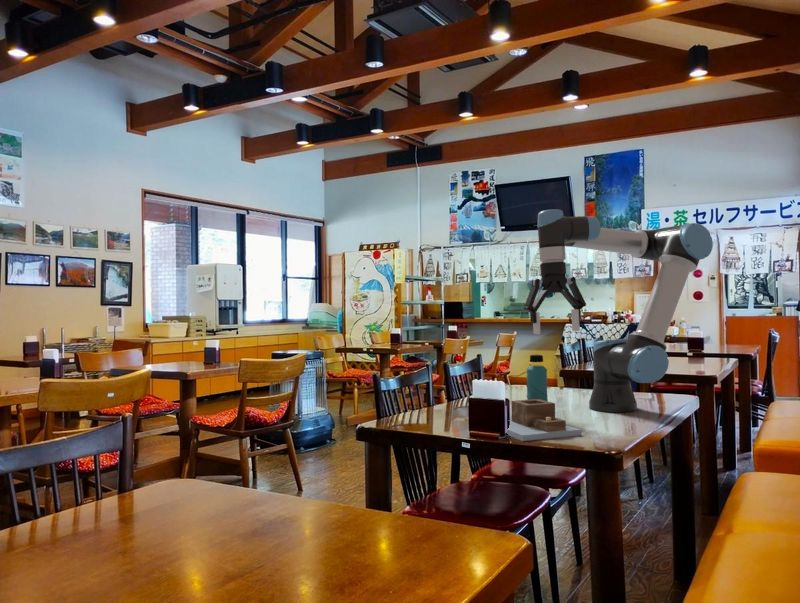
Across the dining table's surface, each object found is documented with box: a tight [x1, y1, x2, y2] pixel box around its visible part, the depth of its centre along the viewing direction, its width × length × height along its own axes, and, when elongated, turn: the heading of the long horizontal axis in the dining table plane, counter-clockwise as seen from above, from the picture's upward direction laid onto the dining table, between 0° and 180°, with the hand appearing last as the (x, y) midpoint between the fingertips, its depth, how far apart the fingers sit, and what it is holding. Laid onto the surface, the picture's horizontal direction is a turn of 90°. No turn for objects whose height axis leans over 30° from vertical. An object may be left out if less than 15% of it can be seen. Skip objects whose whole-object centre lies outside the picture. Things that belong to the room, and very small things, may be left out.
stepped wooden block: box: [510, 399, 567, 432], centre depth 173 cm, size 16×9×6 cm, turn 18°
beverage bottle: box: [526, 354, 549, 402], centre depth 190 cm, size 6×7×20 cm
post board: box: [507, 417, 582, 442], centre depth 172 cm, size 18×19×6 cm
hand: (556, 332), depth 184 cm, fingers open, 13 cm apart
